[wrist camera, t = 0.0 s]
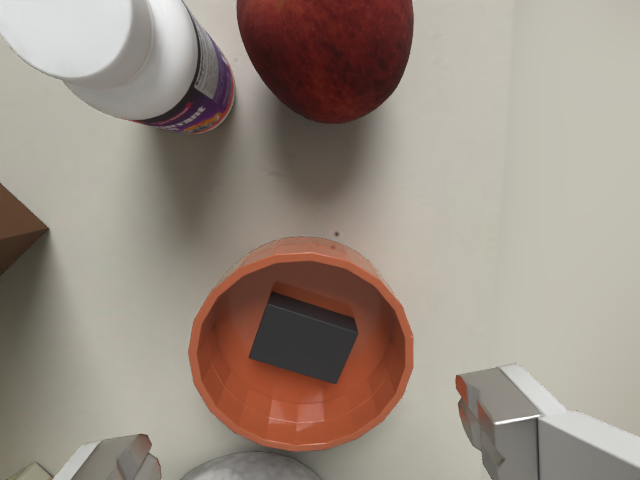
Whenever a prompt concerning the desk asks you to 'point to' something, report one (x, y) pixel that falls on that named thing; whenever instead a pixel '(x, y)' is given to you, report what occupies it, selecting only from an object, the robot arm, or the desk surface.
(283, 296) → the block
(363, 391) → the bowl
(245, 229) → the desk surface
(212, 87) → the pill bottle
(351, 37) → the apple
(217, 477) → the dish
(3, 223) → the tray
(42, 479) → the box
